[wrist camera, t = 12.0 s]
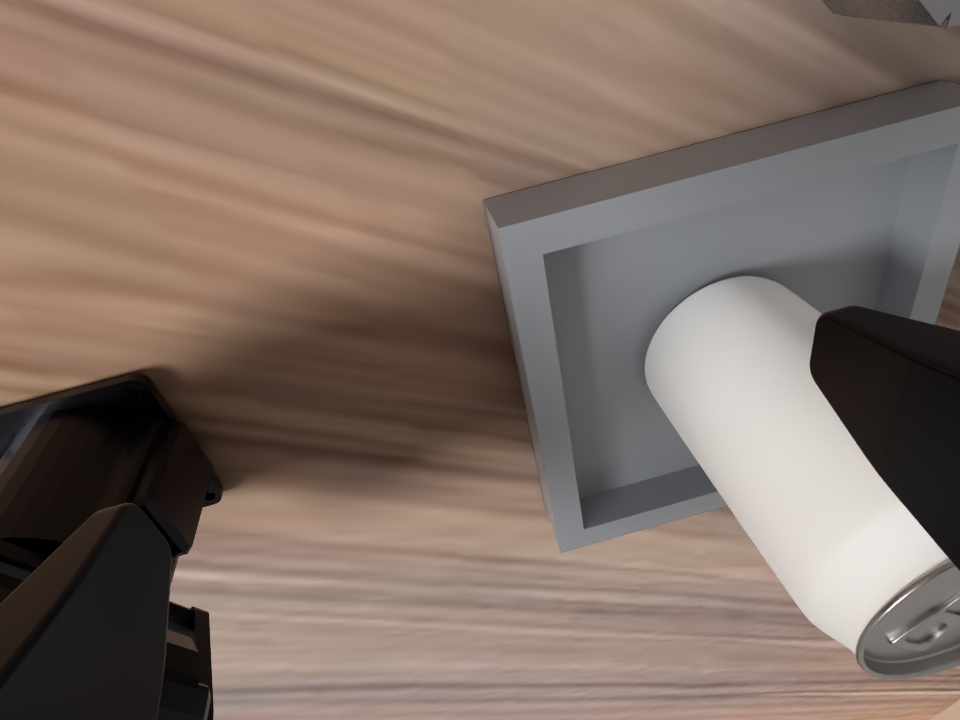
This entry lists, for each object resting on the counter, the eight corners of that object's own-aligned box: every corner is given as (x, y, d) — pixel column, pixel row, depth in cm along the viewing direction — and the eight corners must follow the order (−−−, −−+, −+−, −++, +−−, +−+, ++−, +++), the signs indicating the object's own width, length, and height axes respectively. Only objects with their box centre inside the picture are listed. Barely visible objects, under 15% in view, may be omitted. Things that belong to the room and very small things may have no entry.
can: (825, 306, 24) (1159, 553, 14) (720, 424, 26) (938, 699, 17) (711, 243, 21) (1025, 492, 11) (608, 380, 24) (788, 677, 14)
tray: (546, 511, 29) (560, 552, 27) (483, 200, 19) (498, 228, 17) (856, 423, 29) (893, 458, 27) (939, 79, 20) (1006, 93, 18)
